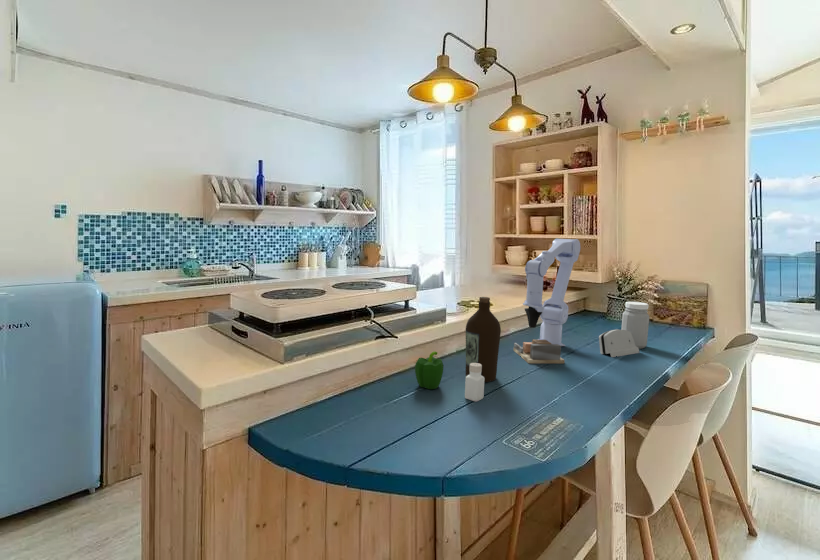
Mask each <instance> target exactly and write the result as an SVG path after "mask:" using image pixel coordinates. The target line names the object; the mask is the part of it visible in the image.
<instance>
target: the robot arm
mask: <svg viewBox="0 0 820 560" xmlns="http://www.w3.org/2000/svg"><path fill="white" fill-rule="evenodd" d="M580 252H581V242H580V240H579V239H578V238H574V239H573V238H555V239H554V240H552V244H551V247H550V248H549V249H548V250H542V252H541V253H540V254H539V255H537V257H535V258H534V259H530V260H528V261H527V262H526V264H525V267H524V272H525V278H526V280H527V283H526V284H527V285H526V299H525V300H524V302H522V305H523V306H526V307H525V308H524V312H525V314H526V317H527V321H528V324H527V325H528V327H529V328H531V329H532V328H536V327H537V324H538V321H539V318H540V319H541V320H542V323H541V324H540V329H539V330H540V331H539V338H537V340H547V341H549V342H550V343H551V344H559V345H560V346H561V347H566V344H564V343H563V342H562V335H563V324H565V323H566V322H567V320H568V317H569V309H570V308H569V306H568V304H567V303H566V302H565V301H564V300H565V296H566V293H567V288H568V286H569V282H570V278H571V274H572V271H573V266H574V264H575V263H576V262H577V261H578V260H579V256H580ZM555 259H556V260H557V261H558V262H560V264H559V268H558V271H557V274H556V277H555V278H556V279H555V282H554V285H553V289H552V293H551V296H550V298H548V299H546V300H545V301H544V302H543V292H544V291H543V290H544V277H545V276H546V275H547V272H548V269H549V267H550V266H551V265H552V264H553V263H554V262H555ZM527 306H528V307H527Z"/></svg>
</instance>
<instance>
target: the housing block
mask: <svg viewBox="0 0 820 560" xmlns="http://www.w3.org/2000/svg"><path fill="white" fill-rule="evenodd" d="M531 342H532V344H551V343H550V342H549V341H547V340H538V339H532V341H531Z"/></svg>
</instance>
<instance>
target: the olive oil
mask: <svg viewBox="0 0 820 560" xmlns="http://www.w3.org/2000/svg"><path fill="white" fill-rule="evenodd" d="M478 298H479V301H478V309H477V311H475V312H474V313H473V315H471V316H470V317H469V319H467V322H466V324H465V377H466V376H467V375H469V374H470V371H469V369H470V368H469V367H470V363H479V364H481V365H482V369H481V370H482V371H481V376H483V377H484V378H485V379H484V383H489V382H494V381H495V380H496V379H497V371H498V359H499V351H500V350H499V349H500V341H501V332H502V331H501V329H502V328H501V324H500V321H499V320H498V318H497V317H496V316H495V315H494V314H493V312H492V311H491V309H490V308H491V302H490V301H491V297H488V296H480V297H478Z"/></svg>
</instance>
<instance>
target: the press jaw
mask: <svg viewBox="0 0 820 560" xmlns="http://www.w3.org/2000/svg"><path fill="white" fill-rule="evenodd" d="M531 344H532V341H531V342H530V341H529V342H527V341H523V342H522V347H523V351H524V352H525V353H530V349H531Z"/></svg>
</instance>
